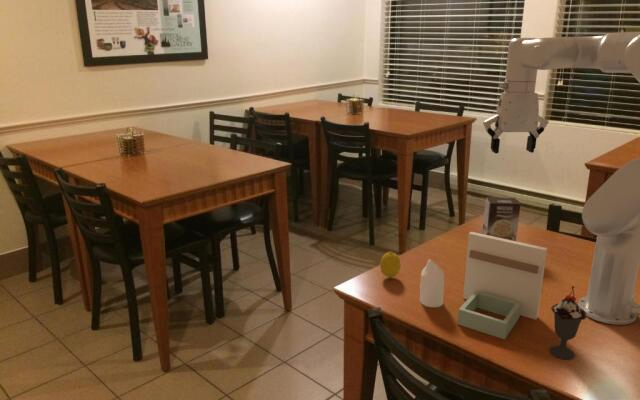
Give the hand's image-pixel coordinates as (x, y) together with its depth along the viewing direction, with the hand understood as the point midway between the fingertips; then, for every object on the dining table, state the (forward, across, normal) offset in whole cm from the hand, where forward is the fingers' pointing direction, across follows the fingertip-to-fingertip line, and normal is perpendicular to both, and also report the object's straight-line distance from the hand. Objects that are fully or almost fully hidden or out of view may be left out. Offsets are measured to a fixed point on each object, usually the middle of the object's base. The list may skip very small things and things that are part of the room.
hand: (512, 151), depth 141 cm
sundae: (+34, -3, -42) cm, 54 cm away
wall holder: (+34, -13, -28) cm, 46 cm away
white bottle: (+34, -26, -19) cm, 47 cm away
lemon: (+34, -33, -4) cm, 48 cm away
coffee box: (+34, +4, +12) cm, 37 cm away
